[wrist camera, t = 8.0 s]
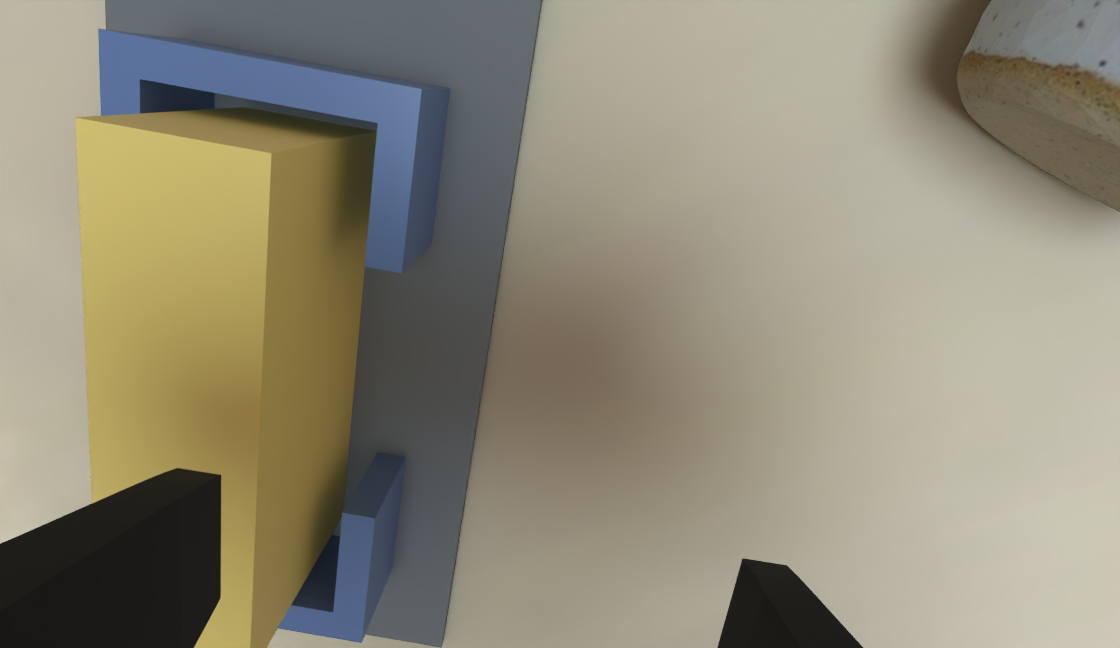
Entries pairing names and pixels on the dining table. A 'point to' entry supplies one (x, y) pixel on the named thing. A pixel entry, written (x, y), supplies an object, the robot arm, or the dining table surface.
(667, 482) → the dining table surface
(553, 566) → the dining table surface
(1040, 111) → the ceramic mug
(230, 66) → the end cap
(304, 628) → the end cap
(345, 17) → the mat
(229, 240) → the slat
